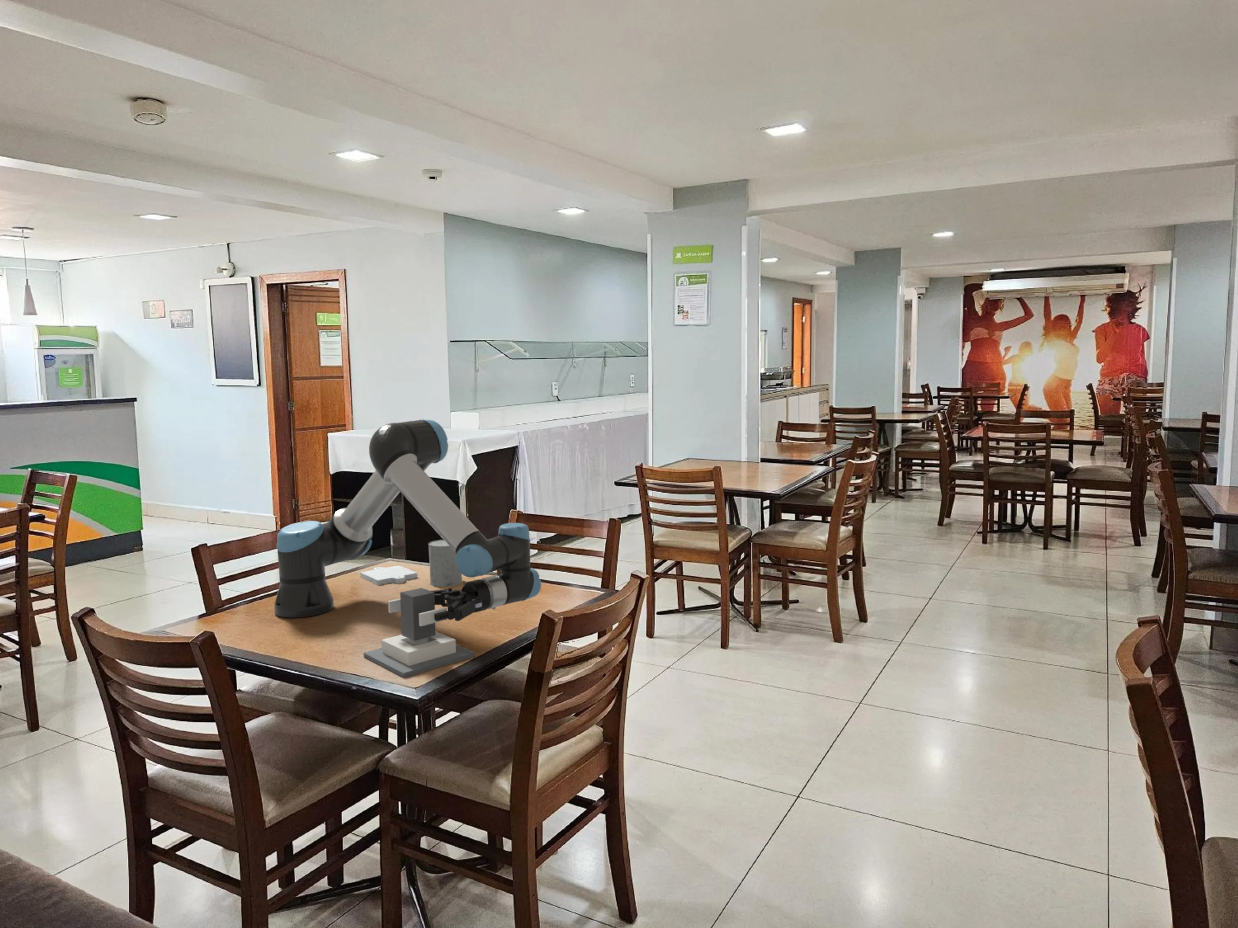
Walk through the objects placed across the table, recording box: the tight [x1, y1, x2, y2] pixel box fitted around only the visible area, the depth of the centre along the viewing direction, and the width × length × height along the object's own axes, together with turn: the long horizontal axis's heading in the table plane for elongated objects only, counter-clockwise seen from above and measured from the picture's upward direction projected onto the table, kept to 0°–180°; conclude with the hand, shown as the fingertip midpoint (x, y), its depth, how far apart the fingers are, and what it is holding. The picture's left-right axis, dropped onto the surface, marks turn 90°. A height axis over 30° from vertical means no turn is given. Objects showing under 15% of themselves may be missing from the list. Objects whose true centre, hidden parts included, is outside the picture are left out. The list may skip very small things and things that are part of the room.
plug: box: [399, 587, 437, 646], centre depth 194 cm, size 6×6×14 cm
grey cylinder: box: [428, 539, 463, 588], centre depth 258 cm, size 10×10×12 cm
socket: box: [363, 631, 476, 678], centre depth 195 cm, size 18×18×4 cm
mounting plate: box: [359, 565, 419, 586], centre depth 266 cm, size 18×13×2 cm
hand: (403, 613), depth 191 cm, fingers open, 13 cm apart
